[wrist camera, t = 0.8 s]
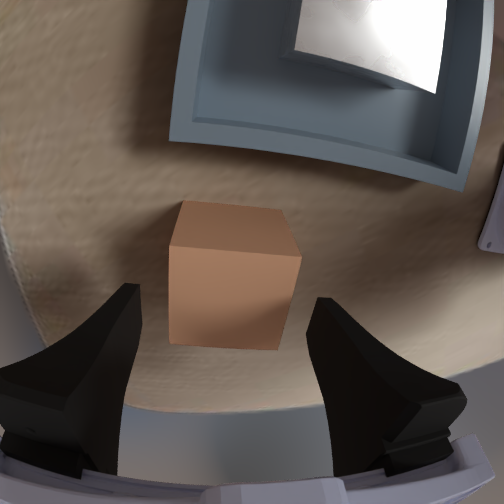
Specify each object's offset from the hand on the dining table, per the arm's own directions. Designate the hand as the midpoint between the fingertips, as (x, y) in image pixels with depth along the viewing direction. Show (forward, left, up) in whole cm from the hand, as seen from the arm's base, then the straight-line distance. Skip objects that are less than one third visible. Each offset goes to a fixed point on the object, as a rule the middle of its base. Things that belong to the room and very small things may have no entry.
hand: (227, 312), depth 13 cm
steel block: (-4, -13, -5) cm, 14 cm away
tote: (-4, -13, -5) cm, 15 cm away
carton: (0, 0, -5) cm, 5 cm away
